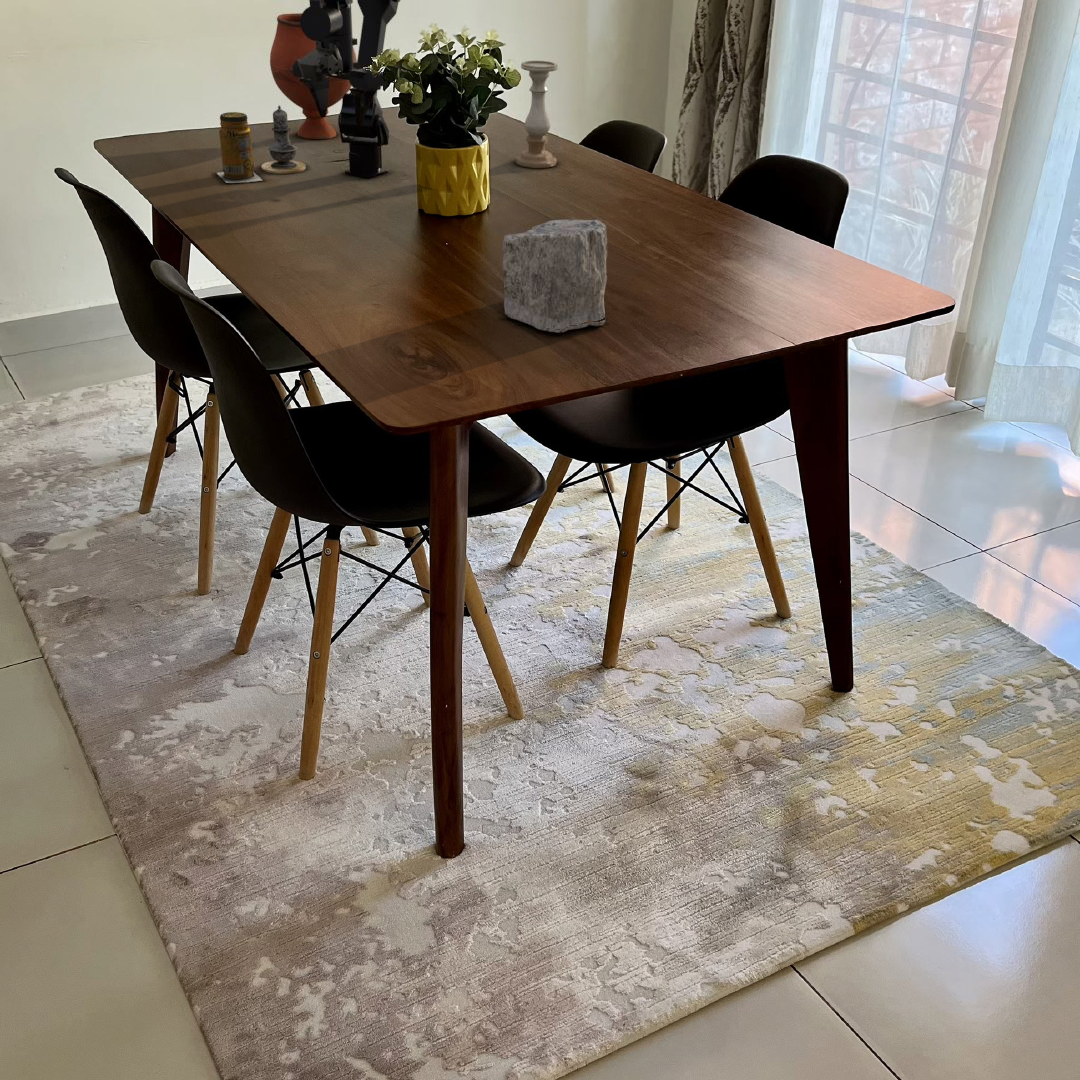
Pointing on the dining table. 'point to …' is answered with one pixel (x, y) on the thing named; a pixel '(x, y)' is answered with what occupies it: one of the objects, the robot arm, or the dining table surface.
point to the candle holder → (537, 118)
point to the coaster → (268, 168)
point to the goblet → (282, 57)
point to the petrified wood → (556, 274)
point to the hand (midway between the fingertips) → (341, 120)
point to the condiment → (236, 149)
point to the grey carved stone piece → (282, 142)
